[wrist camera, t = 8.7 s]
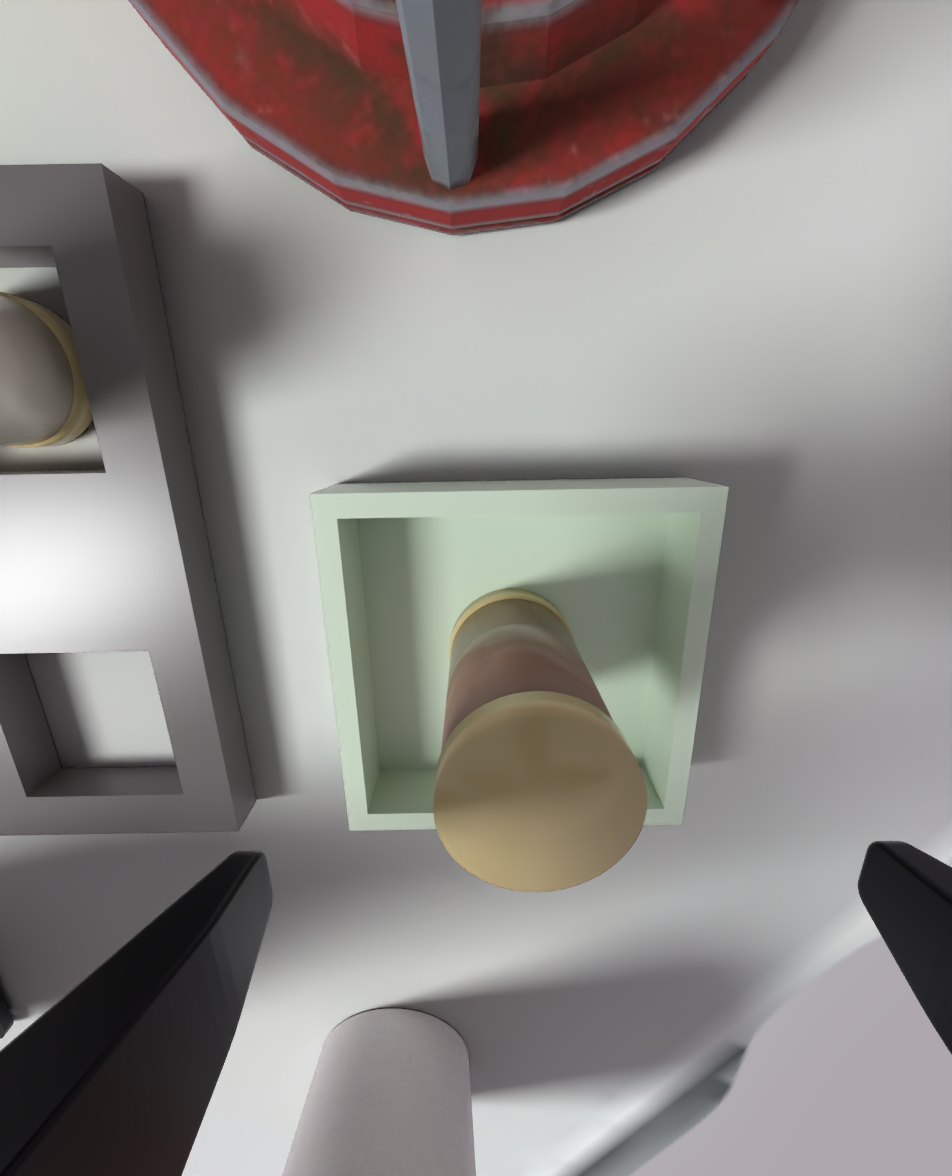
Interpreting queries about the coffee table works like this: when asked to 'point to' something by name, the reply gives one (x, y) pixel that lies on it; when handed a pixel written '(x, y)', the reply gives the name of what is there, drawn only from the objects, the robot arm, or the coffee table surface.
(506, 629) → the fuse
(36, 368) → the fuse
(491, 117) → the hourglass
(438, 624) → the parts tray
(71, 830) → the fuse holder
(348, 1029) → the coffee cup
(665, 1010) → the coffee table surface
